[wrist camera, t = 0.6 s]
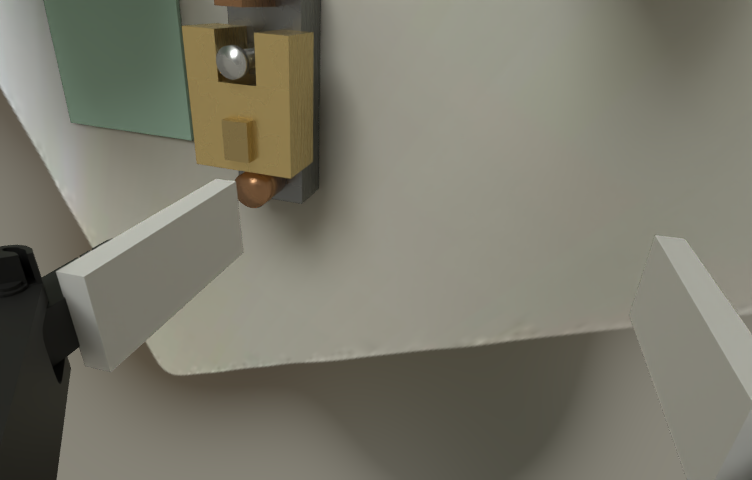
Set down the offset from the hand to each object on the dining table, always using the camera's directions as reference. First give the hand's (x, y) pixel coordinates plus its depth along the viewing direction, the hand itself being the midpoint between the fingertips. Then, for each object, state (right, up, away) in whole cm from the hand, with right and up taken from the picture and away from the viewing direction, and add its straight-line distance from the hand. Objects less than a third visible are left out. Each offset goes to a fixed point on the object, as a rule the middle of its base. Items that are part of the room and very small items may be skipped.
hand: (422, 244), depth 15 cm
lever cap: (-10, +12, +24) cm, 28 cm away
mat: (-26, +17, +30) cm, 43 cm away
